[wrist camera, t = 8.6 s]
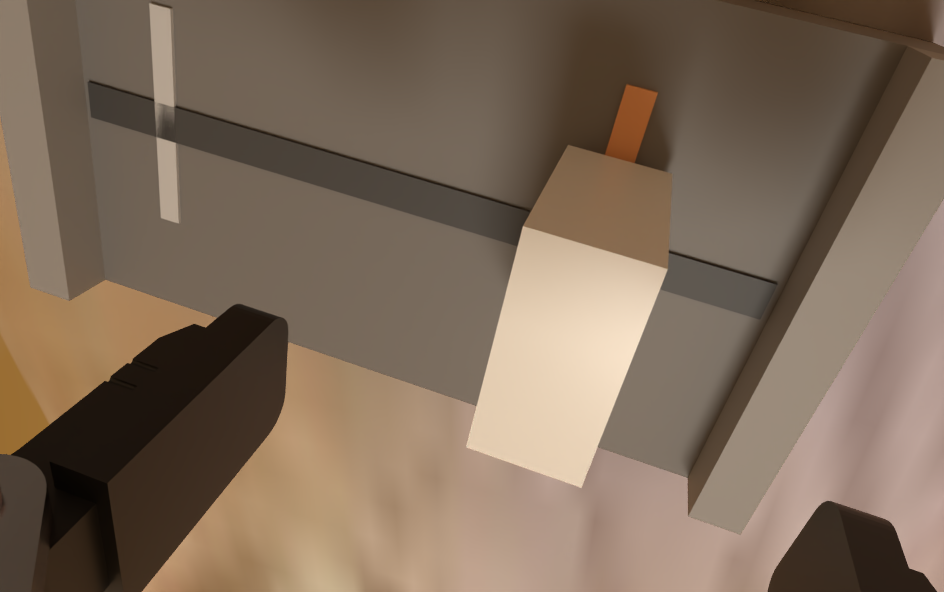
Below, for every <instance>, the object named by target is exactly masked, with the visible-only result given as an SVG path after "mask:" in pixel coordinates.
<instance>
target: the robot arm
mask: <svg viewBox="0 0 944 592" xmlns="http://www.w3.org/2000/svg"><path fill="white" fill-rule="evenodd" d="M287 349H288V324H287V321H286V320H285V319H284V318H282V317H279V316H276V315H273V314H270V313H267V312H264V311H261V310H258V309H255V308H252V307H249V306H246V305H243V304H235V305H233V306H231V307H230V308H229V309H227V310H226V311H225V312H224V313H223V314H222V315H220V316H219V317H218V318H217V319H216V320H214V321H213V322H212V323H211V324H210V325H209V326H207V327H206V328H205V327H202V326H199V325H196V324H193V325H190V326H188V327H185V328H183V329H180V330H178V331H175V332H173V333H170V334H168V335H165V336H163V337H160V338H158V339H157V340H156V341H155V342H153V343H152V344H151V345H150V346H148V347H147V348H146V349H145V350H143V351H142V352H141V353H140V354H138V355H137V356H136V357H134V358H133V361H132V363H131V364H129V363H127V364H126V365H124V366H123V367H122V368H121V369H119V370H118V371H117V372H116V373H114V374H113V375H112V376H111V378H110V380H109V381H108V382H106V381H104V382H103V383H102V384H101V385H99V386H98V387H97V388H95V389H94V390H93V391H92V392H90V393H89V394H88V395H87V396H85V397H84V398H83V399H82V400H80V401H79V402H78V403H77V404H75V405H74V406H73V407H72V408H70V409H69V410H68V411H67V412H65V413H64V414H63V415H61V416H60V417H59V418H58V419H56V420H55V421H54V422H53V423H51V424H50V425H49V426H48V427H46V428H45V429H44V430H43V431H41V432H40V433H39V434H38V435H36V436H35V437H34V438H33V439H31V440H30V441H29V442H28V443H26V444H25V445H24V446H23V447H21V448H20V449H19V450H17V451H16V452H14V453H13V454H11V455H7V454H0V592H142V591H143V589H144V588H145V587H146V586H147V584H148V583H149V582H150V581H151V579H152V578H153V577H154V576H155V575H156V573H157V572H158V571H159V570H160V568H161V567H162V566H163V565H164V563H165V562H166V561H167V560H168V558H169V557H170V556H171V555H172V553H173V552H174V551H175V550H176V549H177V547H178V546H179V545H180V544H181V542H182V541H183V540H184V539H185V537H186V536H187V535H188V534H189V532H190V531H191V530H192V529H193V528H194V526H195V525H196V524H197V523H198V521H199V520H200V519H201V518H202V516H203V515H204V514H205V513H206V511H207V510H208V509H209V508H210V506H211V505H212V504H213V503H214V502H215V500H216V499H217V498H218V497H219V495H220V494H221V493H222V492H223V490H224V489H225V488H226V487H227V485H228V484H229V483H230V482H231V481H232V479H233V478H234V477H235V476H236V474H237V473H238V472H239V471H240V469H241V468H242V467H243V466H244V464H245V463H246V462H247V461H248V459H249V458H250V457H251V456H252V455H253V453H254V452H255V451H256V450H257V448H258V447H259V446H260V445H261V443H262V442H263V441H264V440H265V438H266V437H267V436H268V435H269V433H270V432H271V431H272V429H273V427H274V426H275V424H276V422H277V420H278V418H279V415H280V413H281V410H282V407H283V403H284V399H285V388H286V368H287ZM768 592H937V591H936V590H935V588H934V587H933V586H932V584H931V583H930V582H929V580H928V579H927V578H926V576H925V575H924V574H923V573H921V572H918V571H915V570H912V569H909V567H908V564H907V562H906V559H905V556H904V553H903V550H902V547H901V544H900V541H899V538H898V536H897V533H896V530H895V528H894V527H893V525H892V524H891V523H890V522H889V521H888V520H886V519H883V518H880V517H877V516H874V515H871V514H868V513H865V512H862V511H859V510H856V509H853V508H850V507H847V506H844V505H841V504H838V503H835V502H832V501H826V502H824V503H822V504H821V505H820V506H819V507H818V508H817V509H816V510H815V512H814V513H813V515H812V516H811V518H810V519H809V521H808V522H807V523H806V525H805V526H804V528H803V529H802V531H801V532H800V534H799V535H798V537H797V538H796V539H795V541H794V542H793V544H792V545H791V547H790V548H789V550H788V551H787V552H786V554H785V555H784V557H783V558H782V560H781V561H780V563H779V564H778V566H777V567H776V569H775V571H774V573H773V575H772V578H771V581H770V584H769V588H768Z"/></svg>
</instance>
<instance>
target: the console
mask: <svg viewBox="0 0 944 592" xmlns="http://www.w3.org/2000/svg"><path fill="white" fill-rule="evenodd" d="M0 117H1V122H2V128H3V134H4V139H5V145H6V151H7V156H8V162H9V168H10V173H11V179H12V185H13V190H14V196H15V202H16V208H17V213H18V219H19V225H20V230H21V236H22V242H23V247H24V253H25V259H26V264H27V270H28V276H29V281H30V287H31V288H34V289H37V290H40V291H43V292H46V293H48V294H51V295H54V296H57V297H60V298H63V299H66V300H68V301H70V300H72V299H73V298H75V297H77V296H78V295H80V294H82V293H83V292H85V291H87V290H89V289H90V288H92V287H94V286H95V285H97V284H99V283H100V282H102V281H104V280H108V281H111V282H114V283H117V284H120V285H123V286H126V287H129V288H132V289H135V290H138V291H141V292H143V293H146V294H149V295H152V296H155V297H158V298H161V299H164V300H167V301H170V302H173V303H176V304H179V305H182V306H185V307H188V308H190V309H193V310H196V311H199V312H202V313H205V314H208V315H211V316H214V317H217V318H218V317H219V316H220V315H222V314H223V313H224V312H225V311H226V310H227V309H229V308H230V307H231V306H233V305H235V304H243V305H246V306H249V307H252V308H255V309H258V310H261V311H264V312H267V313H270V314H273V315H276V316H279V317H282V318H284V319H285V320H286V321H287V324H288V342H290V343H293V344H296V345H299V346H302V347H305V348H308V349H311V350H314V351H317V352H320V353H323V354H326V355H329V356H331V357H334V358H337V359H340V360H343V361H346V362H349V363H352V364H355V365H358V366H361V367H364V368H367V369H370V370H373V371H376V372H378V373H381V374H384V375H387V376H390V377H393V378H396V379H399V380H402V381H405V382H408V383H411V384H414V385H417V386H420V387H422V388H425V389H428V390H431V391H434V392H437V393H440V394H443V395H446V396H449V397H452V398H455V399H458V400H461V401H464V402H467V403H470V404H472V405H475V406H477V403H478V399H479V395H480V391H481V387H482V384H483V380H484V376H485V372H486V368H487V364H488V360H489V356H490V352H491V348H492V345H493V341H494V337H495V333H496V329H497V325H498V321H499V317H500V313H501V310H502V306H503V302H504V298H505V294H506V290H507V286H508V282H509V278H510V274H511V271H512V267H513V263H514V259H515V255H516V251H517V247H518V243H519V239H520V236H521V232H522V228H523V225H524V223H525V221H526V220H527V218H528V216H529V214H530V212H531V211H532V209H533V207H534V205H535V203H536V202H537V200H538V198H539V196H540V194H541V193H542V191H543V189H544V187H545V185H546V184H547V182H548V180H549V178H550V176H551V175H552V173H553V171H554V169H555V167H556V166H557V164H558V162H559V160H560V159H561V157H562V155H563V153H564V151H565V150H566V148H567V146H568V145H571V146H574V147H578V148H581V149H585V150H589V151H592V152H596V153H599V154H603V155H607V156H610V157H614V158H617V159H621V160H625V161H628V162H632V163H635V164H639V165H643V166H646V167H650V168H653V169H657V170H661V171H664V172H668V173H672V174H673V175H672V195H671V216H670V236H669V257H668V270H667V273H666V275H665V278H664V280H663V283H662V285H661V288H660V290H659V293H658V295H657V298H656V300H655V303H654V306H653V308H652V311H651V313H650V316H649V318H648V321H647V323H646V326H645V328H644V331H643V333H642V336H641V338H640V341H639V343H638V346H637V348H636V351H635V353H634V356H633V359H632V361H631V364H630V366H629V369H628V371H627V374H626V376H625V379H624V381H623V384H622V386H621V389H620V391H619V394H618V396H617V399H616V401H615V404H614V406H613V409H612V412H611V414H610V417H609V419H608V422H607V424H606V427H605V429H604V432H603V434H602V437H601V439H600V442H599V444H598V447H599V448H602V449H605V450H608V451H610V452H613V453H616V454H619V455H622V456H625V457H628V458H631V459H634V460H637V461H640V462H643V463H646V464H649V465H652V466H655V467H657V468H660V469H663V470H666V471H669V472H672V473H675V474H678V475H681V476H684V477H687V478H688V517H691V518H694V519H697V520H700V521H703V522H705V523H708V524H711V525H714V526H717V527H720V528H723V529H725V530H728V531H731V532H734V533H737V534H740V535H741V533H742V531H743V530H744V528H745V527H746V525H747V523H748V522H749V520H750V518H751V517H752V515H753V513H754V512H755V510H756V508H757V507H758V505H759V503H760V502H761V500H762V498H763V497H764V495H765V493H766V492H767V490H768V488H769V487H770V485H771V484H772V482H773V480H774V479H775V477H776V475H777V474H778V472H779V470H780V469H781V467H782V465H783V464H784V462H785V460H786V459H787V457H788V455H789V454H790V452H791V450H792V449H793V447H794V445H795V444H796V442H797V440H798V439H799V437H800V436H801V434H802V432H803V431H804V429H805V427H806V426H807V424H808V422H809V421H810V419H811V417H812V416H813V414H814V412H815V411H816V409H817V407H818V406H819V404H820V402H821V401H822V399H823V397H824V396H825V394H826V393H827V391H828V389H829V388H830V386H831V384H832V383H833V381H834V379H835V378H836V376H837V374H838V373H839V371H840V369H841V368H842V366H843V364H844V363H845V361H846V359H847V358H848V356H849V354H850V353H851V351H852V350H853V348H854V346H855V345H856V343H857V341H858V340H859V338H860V336H861V335H862V333H863V331H864V330H865V328H866V326H867V325H868V323H869V321H870V320H871V318H872V316H873V315H874V313H875V311H876V310H877V308H878V306H879V305H880V303H881V302H882V300H883V298H884V297H885V295H886V293H887V292H888V290H889V288H890V287H891V285H892V283H893V282H894V280H895V278H896V277H897V275H898V273H899V272H900V270H901V268H902V267H903V265H904V263H905V262H906V260H907V259H908V257H909V255H910V254H911V252H912V250H913V249H914V247H915V245H916V244H917V242H918V240H919V239H920V237H921V235H922V234H923V232H924V230H925V229H926V227H927V225H928V224H929V222H930V220H931V219H932V217H933V215H934V214H935V212H936V211H937V209H938V207H939V206H940V204H941V202H942V201H943V199H944V47H942V46H940V45H938V44H935V43H933V42H928V41H924V40H920V39H916V38H912V37H907V36H903V35H899V34H895V33H890V32H886V31H882V30H878V29H874V28H869V27H865V26H861V25H857V24H852V23H848V22H844V21H840V20H835V19H831V18H827V17H823V16H819V15H814V14H810V13H806V12H802V11H797V10H793V9H789V8H785V7H781V6H776V5H772V4H768V3H764V2H759V1H755V0H0Z"/></svg>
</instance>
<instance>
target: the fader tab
mask: <svg viewBox="0 0 944 592" xmlns="http://www.w3.org/2000/svg"><path fill="white" fill-rule="evenodd" d="M672 175H673V174H672V173H668V172H664V171H661V170H657V169H653V168H650V167H646V166H643V165H639V164H635V163H632V162H628V161H625V160H621V159H617V158H614V157H610V156H607V155H603V154H599V153H596V152H592V151H589V150H585V149H581V148H578V147H574V146H571V145H568V146H567V148H566V150H565V151H564V153H563V155H562V157H561V159H560V160H559V162H558V164H557V166H556V167H555V169H554V171H553V173H552V175H551V176H550V178H549V180H548V182H547V184H546V185H545V187H544V189H543V191H542V193H541V194H540V196H539V198H538V200H537V202H536V203H535V205H534V207H533V209H532V211H531V212H530V214H529V216H528V218H527V220H526V221H525V223H524V225H523V228H522V232H521V236H520V239H519V243H518V247H517V251H516V255H515V259H514V263H513V267H512V271H511V274H510V278H509V282H508V286H507V290H506V294H505V298H504V302H503V306H502V310H501V313H500V317H499V321H498V325H497V329H496V333H495V337H494V341H493V345H492V348H491V352H490V356H489V360H488V364H487V368H486V372H485V376H484V380H483V384H482V387H481V391H480V395H479V399H478V403H477V407H476V411H475V415H474V419H473V422H472V426H471V430H470V434H469V438H468V442H467V446H466V447H467V448H469V449H472V450H475V451H478V452H481V453H484V454H487V455H489V456H492V457H495V458H498V459H501V460H504V461H507V462H509V463H512V464H515V465H518V466H521V467H524V468H527V469H529V470H532V471H535V472H538V473H541V474H544V475H547V476H549V477H552V478H555V479H558V480H561V481H564V482H567V483H569V484H572V485H575V486H578V487H582V485H583V482H584V480H585V477H586V475H587V472H588V470H589V467H590V465H591V462H592V459H593V457H594V454H595V452H596V449H597V447H598V444H599V442H600V439H601V437H602V434H603V432H604V429H605V427H606V424H607V422H608V419H609V417H610V414H611V412H612V409H613V406H614V404H615V401H616V399H617V396H618V394H619V391H620V389H621V386H622V384H623V381H624V379H625V376H626V374H627V371H628V369H629V366H630V364H631V361H632V359H633V356H634V353H635V351H636V348H637V346H638V343H639V341H640V338H641V336H642V333H643V331H644V328H645V326H646V323H647V321H648V318H649V316H650V313H651V311H652V308H653V306H654V303H655V300H656V298H657V295H658V293H659V290H660V288H661V285H662V283H663V280H664V278H665V275H666V273H667V270H668V257H669V236H670V216H671V195H672Z"/></svg>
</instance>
